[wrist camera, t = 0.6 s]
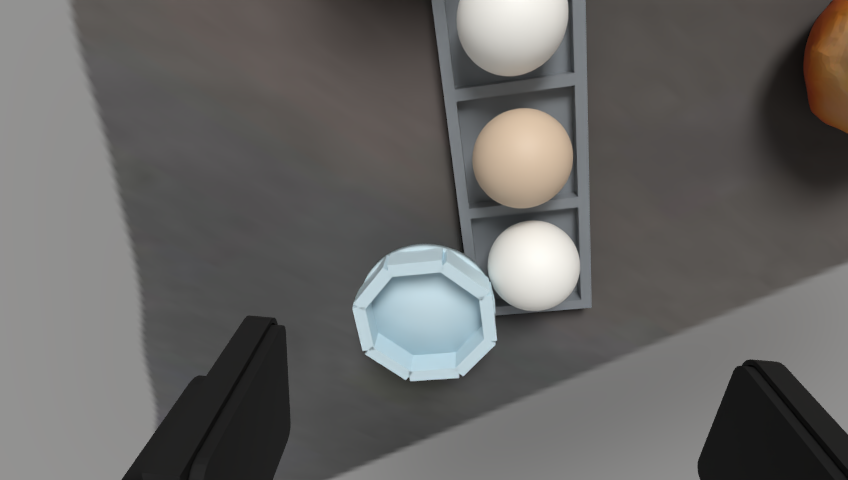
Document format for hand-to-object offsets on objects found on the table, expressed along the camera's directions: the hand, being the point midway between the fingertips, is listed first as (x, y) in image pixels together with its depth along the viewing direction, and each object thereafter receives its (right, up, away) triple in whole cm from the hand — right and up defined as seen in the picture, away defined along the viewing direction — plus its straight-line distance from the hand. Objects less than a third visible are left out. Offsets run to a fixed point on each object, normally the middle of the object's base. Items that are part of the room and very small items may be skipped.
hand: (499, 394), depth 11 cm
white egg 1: (+3, +14, +15) cm, 21 cm away
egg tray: (+4, +9, +18) cm, 20 cm away
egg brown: (+4, +8, +18) cm, 20 cm away
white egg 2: (+5, +3, +20) cm, 21 cm away
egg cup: (-1, +1, +22) cm, 22 cm away
